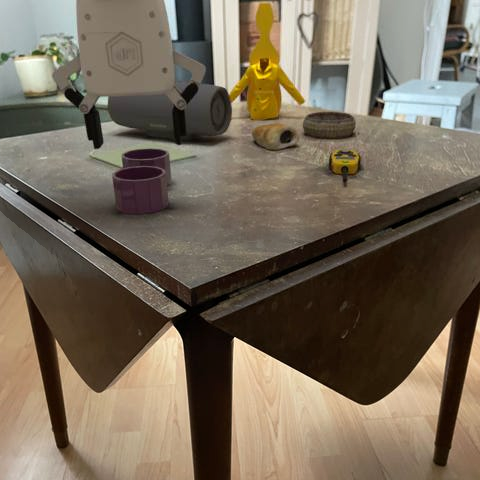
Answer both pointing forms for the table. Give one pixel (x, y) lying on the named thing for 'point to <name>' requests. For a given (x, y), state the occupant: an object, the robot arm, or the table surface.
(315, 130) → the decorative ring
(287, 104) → the table surface
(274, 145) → the pastry
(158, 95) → the bluetooth speaker
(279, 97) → the yellow coat
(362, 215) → the table surface
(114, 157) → the placemat
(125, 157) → the ribbed purple cap
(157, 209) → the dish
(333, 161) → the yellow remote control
